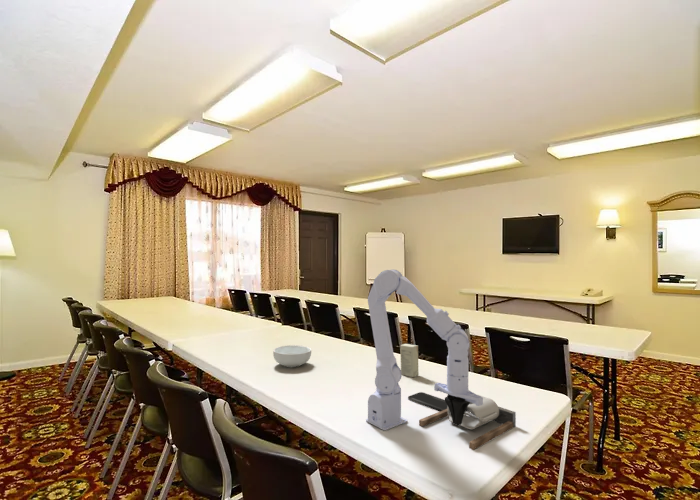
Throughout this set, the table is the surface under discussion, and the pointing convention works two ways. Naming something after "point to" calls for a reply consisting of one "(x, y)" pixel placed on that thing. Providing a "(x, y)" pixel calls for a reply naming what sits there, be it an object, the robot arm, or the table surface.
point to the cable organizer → (479, 414)
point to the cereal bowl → (292, 355)
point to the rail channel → (504, 418)
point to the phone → (429, 401)
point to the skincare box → (409, 360)
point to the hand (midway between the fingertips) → (457, 423)
